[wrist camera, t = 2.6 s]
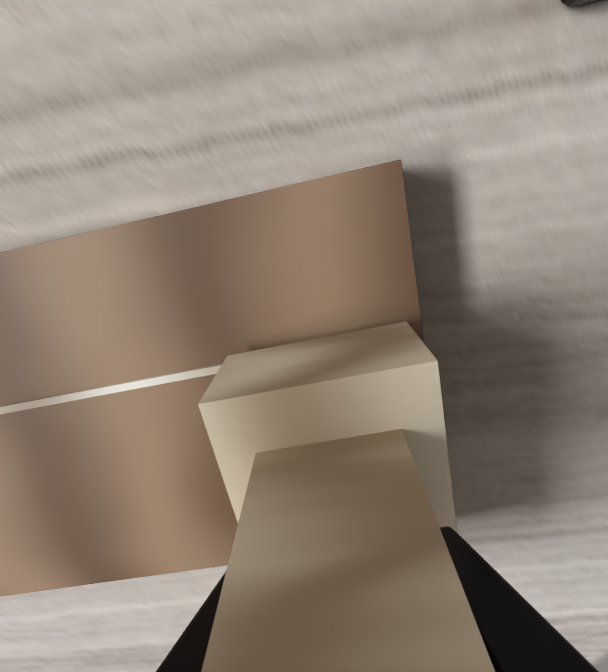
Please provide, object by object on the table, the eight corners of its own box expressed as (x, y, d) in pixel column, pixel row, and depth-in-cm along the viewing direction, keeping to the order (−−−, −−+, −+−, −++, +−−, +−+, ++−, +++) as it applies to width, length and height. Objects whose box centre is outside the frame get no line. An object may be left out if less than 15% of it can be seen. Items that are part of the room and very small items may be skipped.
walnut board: (387, 167, 11) (402, 159, 9) (431, 493, 15) (448, 536, 13) (-286, 323, 14) (-389, 342, 12) (-106, 573, 17) (-161, 620, 15)
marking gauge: (392, 302, 12) (795, 811, 2) (425, 534, 15) (659, 1235, 5) (241, 332, 13) (-83, 869, 2) (302, 551, 16) (274, 1221, 5)
